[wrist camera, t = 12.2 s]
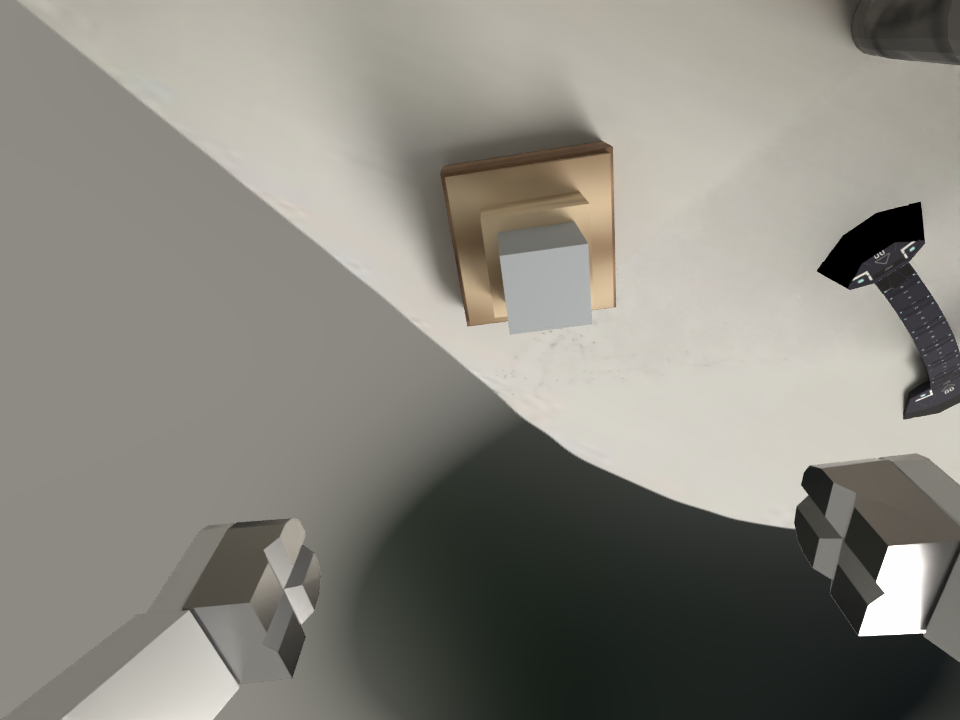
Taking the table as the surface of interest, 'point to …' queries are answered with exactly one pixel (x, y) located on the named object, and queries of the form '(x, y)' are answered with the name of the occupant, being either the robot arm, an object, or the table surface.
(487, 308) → the plinth
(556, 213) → the oak block
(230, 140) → the table surface
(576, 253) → the grey cube
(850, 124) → the table surface
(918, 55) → the beverage cup
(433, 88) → the table surface
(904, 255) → the black long flat piece
